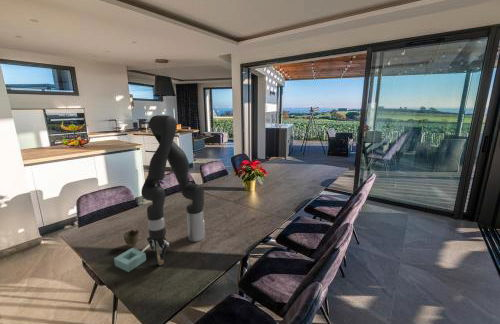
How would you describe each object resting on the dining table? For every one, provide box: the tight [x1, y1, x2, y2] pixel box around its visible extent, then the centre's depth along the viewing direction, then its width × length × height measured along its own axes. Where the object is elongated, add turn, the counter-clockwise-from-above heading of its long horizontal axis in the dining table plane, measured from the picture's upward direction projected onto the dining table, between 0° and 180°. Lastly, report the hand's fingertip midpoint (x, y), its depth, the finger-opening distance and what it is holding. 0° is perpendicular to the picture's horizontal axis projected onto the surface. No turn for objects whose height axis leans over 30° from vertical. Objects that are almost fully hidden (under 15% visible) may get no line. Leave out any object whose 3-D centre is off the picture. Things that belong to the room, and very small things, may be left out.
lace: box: [141, 244, 150, 253], centre depth 127 cm, size 10×1×1 cm, turn 168°
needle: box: [156, 244, 165, 266], centre depth 114 cm, size 3×3×12 cm
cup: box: [122, 229, 139, 248], centre depth 130 cm, size 8×7×8 cm
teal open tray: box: [113, 247, 147, 273], centre depth 116 cm, size 10×10×4 cm
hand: (160, 257), depth 115 cm, fingers closed on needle, 2 cm apart
